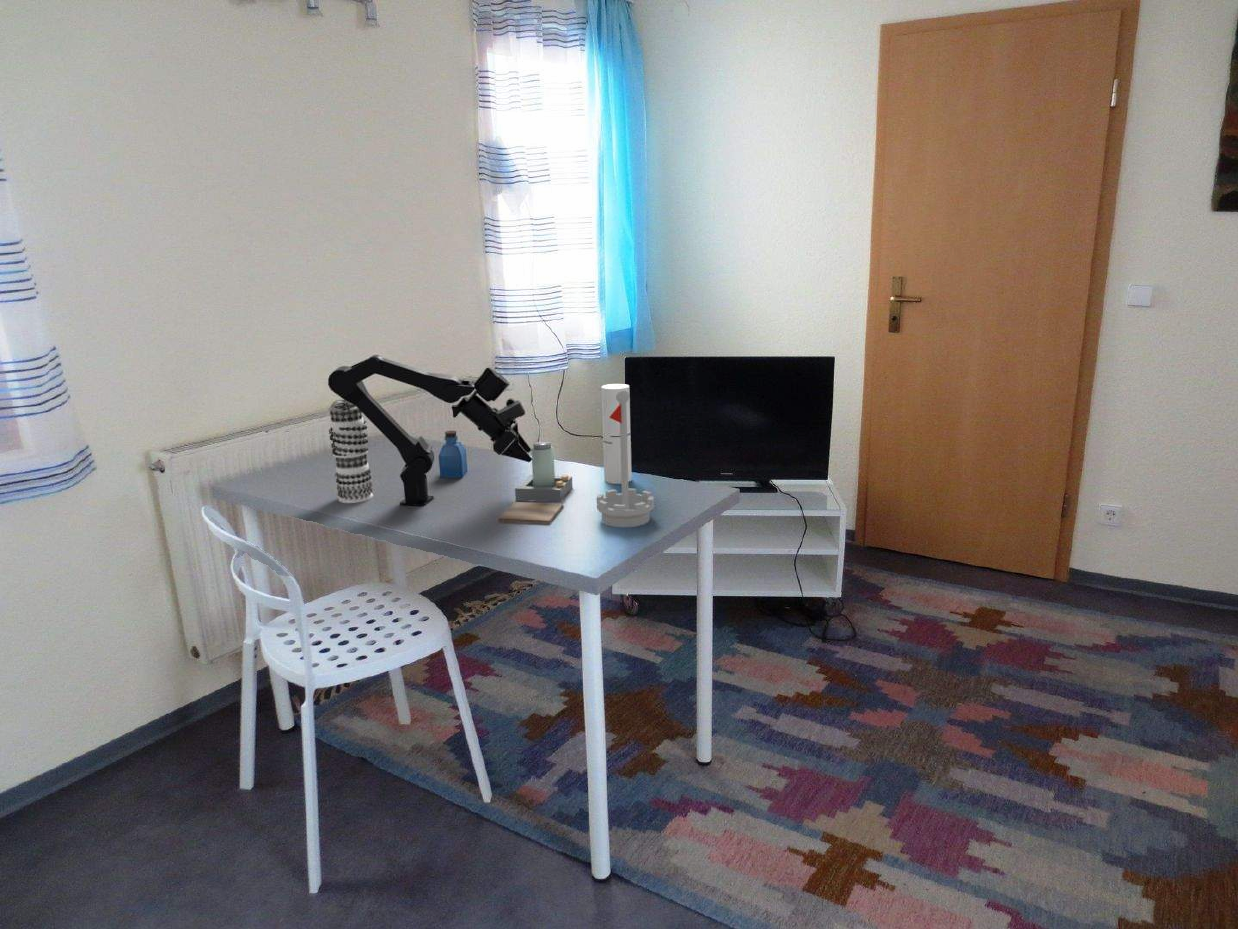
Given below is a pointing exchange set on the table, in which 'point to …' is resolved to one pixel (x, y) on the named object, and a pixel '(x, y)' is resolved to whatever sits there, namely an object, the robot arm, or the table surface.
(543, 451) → the grey-lidded mint jar
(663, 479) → the table surface
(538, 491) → the grey square tray
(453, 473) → the perfume bottle
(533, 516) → the walnut pad
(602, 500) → the flag stand
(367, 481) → the decorative candle
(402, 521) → the table surface
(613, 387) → the cylindrical container
